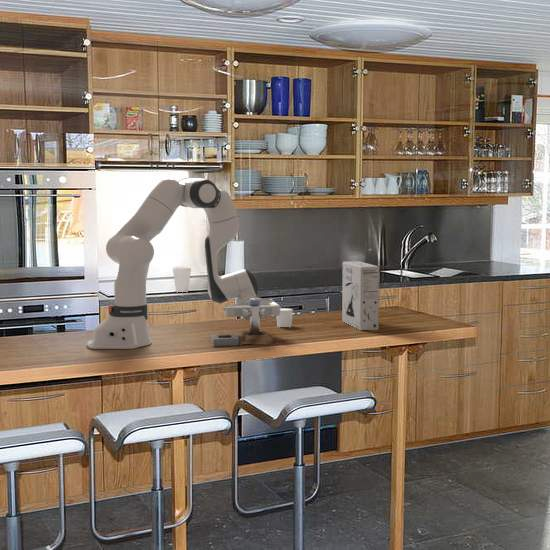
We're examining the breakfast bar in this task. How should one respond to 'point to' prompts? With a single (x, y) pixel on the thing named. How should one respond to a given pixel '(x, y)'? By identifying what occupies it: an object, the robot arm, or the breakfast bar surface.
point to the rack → (255, 338)
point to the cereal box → (360, 295)
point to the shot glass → (285, 317)
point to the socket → (225, 340)
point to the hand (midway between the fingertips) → (255, 313)
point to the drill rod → (255, 316)
